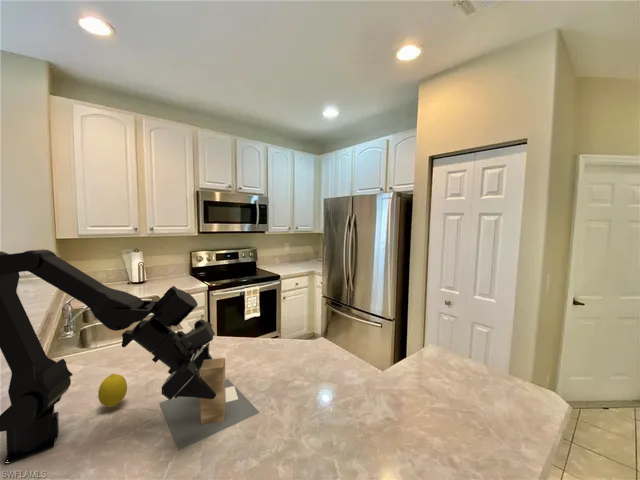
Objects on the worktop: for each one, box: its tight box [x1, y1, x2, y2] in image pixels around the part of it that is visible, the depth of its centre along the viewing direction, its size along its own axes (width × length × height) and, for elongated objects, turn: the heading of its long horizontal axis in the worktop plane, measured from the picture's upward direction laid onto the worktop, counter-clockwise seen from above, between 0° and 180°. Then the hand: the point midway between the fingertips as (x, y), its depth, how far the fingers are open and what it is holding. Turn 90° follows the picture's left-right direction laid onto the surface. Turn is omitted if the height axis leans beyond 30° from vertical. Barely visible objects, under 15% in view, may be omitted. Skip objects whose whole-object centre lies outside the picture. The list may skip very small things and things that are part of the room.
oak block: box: [200, 357, 226, 425], centre depth 62 cm, size 5×5×12 cm
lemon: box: [97, 373, 128, 408], centre depth 66 cm, size 6×6×8 cm
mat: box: [158, 378, 260, 451], centre depth 65 cm, size 17×19×1 cm
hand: (217, 385), depth 62 cm, fingers open, 9 cm apart
